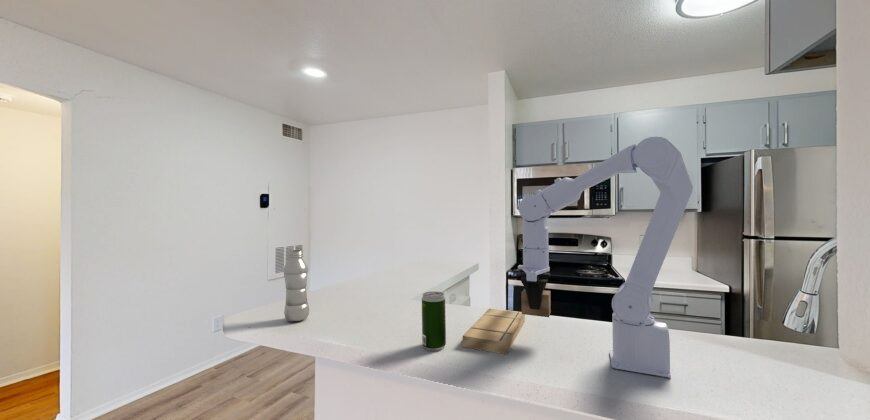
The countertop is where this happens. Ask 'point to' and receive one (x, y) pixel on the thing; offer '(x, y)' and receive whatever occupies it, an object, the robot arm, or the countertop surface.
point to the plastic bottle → (296, 287)
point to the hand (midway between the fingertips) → (536, 306)
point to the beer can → (433, 321)
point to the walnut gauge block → (544, 308)
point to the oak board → (494, 331)
